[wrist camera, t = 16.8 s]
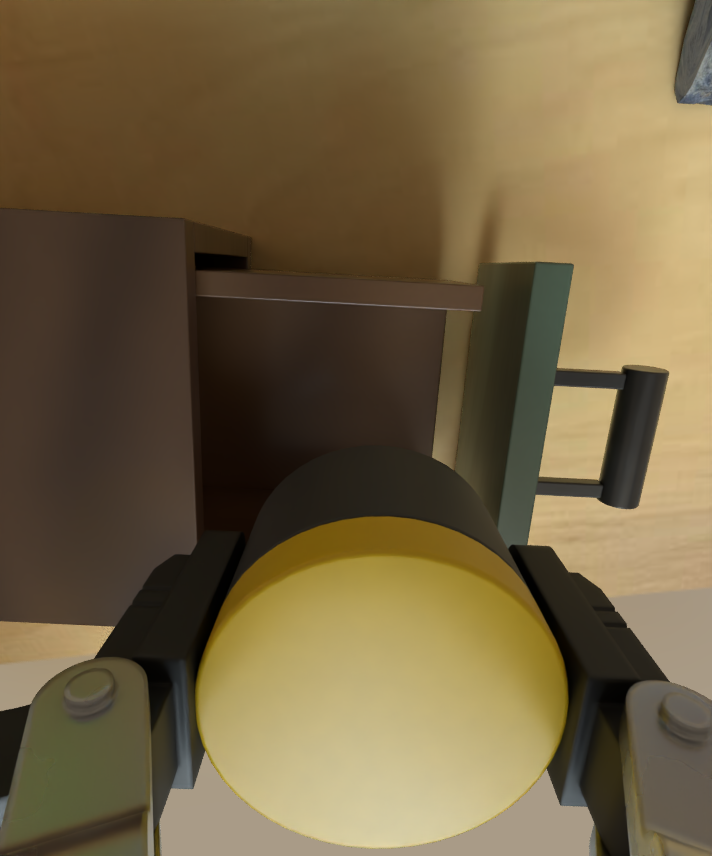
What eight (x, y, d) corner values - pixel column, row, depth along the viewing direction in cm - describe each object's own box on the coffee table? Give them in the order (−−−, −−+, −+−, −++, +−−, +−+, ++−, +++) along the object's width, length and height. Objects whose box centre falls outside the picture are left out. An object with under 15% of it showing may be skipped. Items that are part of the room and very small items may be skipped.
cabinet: (251, 237, 24) (184, 218, 15) (252, 510, 28) (200, 631, 19) (-96, 217, 24) (-387, 186, 15) (-45, 495, 28) (-247, 610, 19)
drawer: (622, 271, 24) (747, 273, 16) (573, 523, 27) (656, 622, 20) (178, 246, 23) (93, 236, 16) (190, 504, 27) (125, 596, 20)
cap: (481, 666, 12) (539, 858, 8) (251, 657, 12) (200, 845, 8) (513, 450, 10) (604, 560, 6) (248, 438, 10) (183, 541, 6)
